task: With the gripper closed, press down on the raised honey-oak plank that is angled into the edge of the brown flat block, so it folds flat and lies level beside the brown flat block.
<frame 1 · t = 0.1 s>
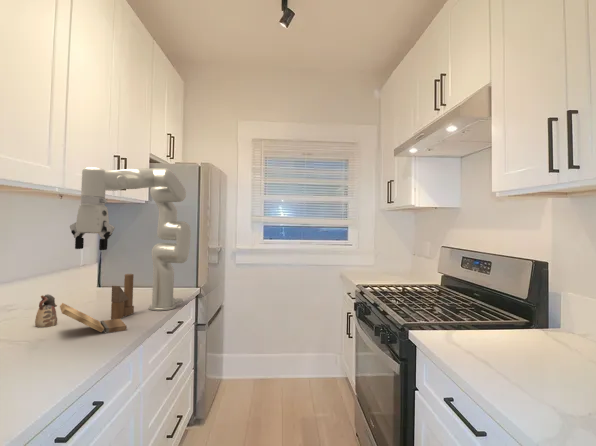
hand: (91, 249, 125), 31 cm above the countertop, tool pointing down, fingers open, 9 cm apart
figurine: (46, 325, 136), on the countertop
oak plank: (81, 317, 129), point 5 cm above the countertop, hinge at 35.0°
wooden block: (122, 316, 152), on the countertop
brown flat block: (113, 327, 135), on the countertop
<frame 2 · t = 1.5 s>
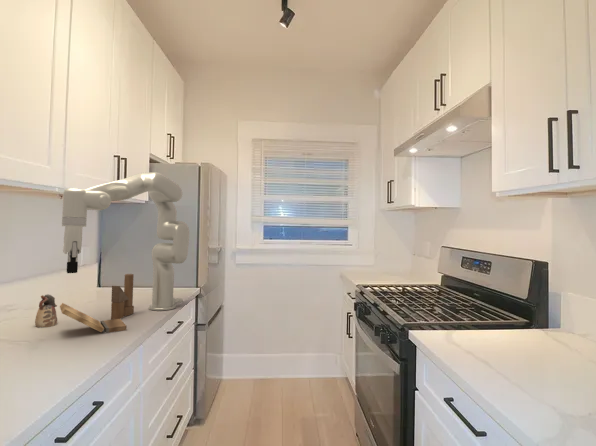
hand: (71, 272, 126), 22 cm above the countertop, tool pointing down, fingers closed
nothing on the countertop moved.
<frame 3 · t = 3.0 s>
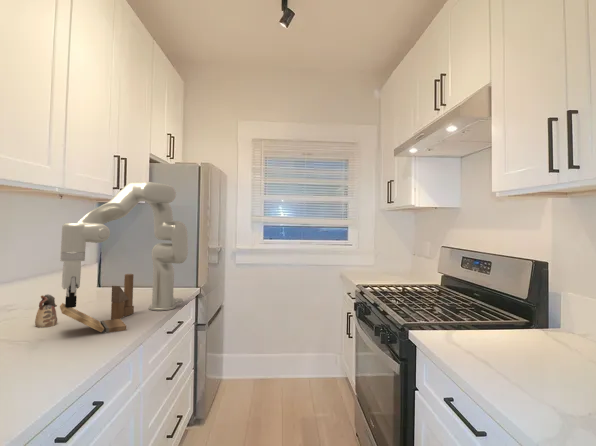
hand: (70, 307, 126), 10 cm above the countertop, tool pointing down, fingers closed
oak plank: (81, 317, 129), point 5 cm above the countertop, hinge at 34.9°, touching gripper
everything else where it was.
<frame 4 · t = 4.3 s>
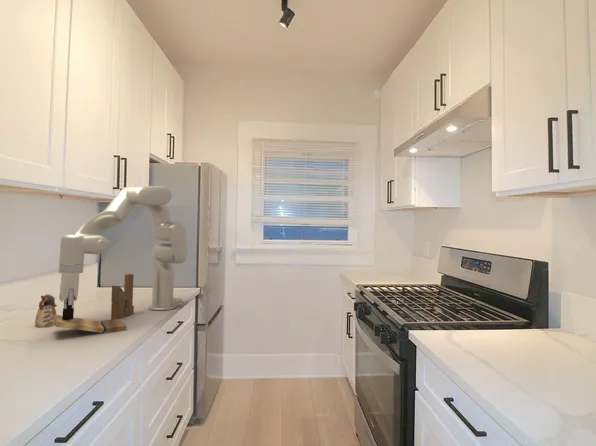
hand: (67, 319, 126), 5 cm above the countertop, tool pointing down, fingers closed
oak plank: (79, 323, 128), point 3 cm above the countertop, hinge at 17.2°, touching gripper
everything else where it was.
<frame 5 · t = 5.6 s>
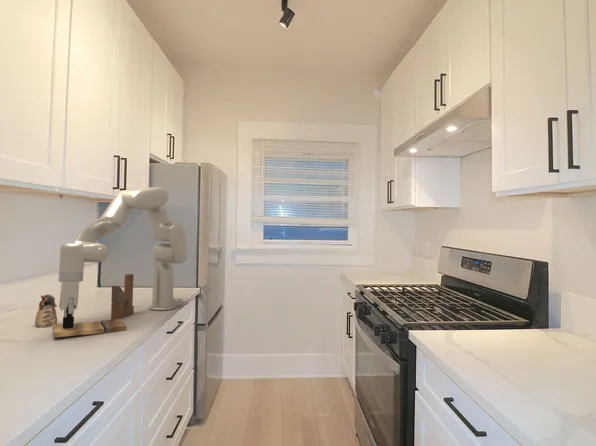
hand: (67, 327, 126), 2 cm above the countertop, tool pointing down, fingers closed
oak plank: (78, 328, 128), point 1 cm above the countertop, hinge at 3.4°, touching gripper
everything else where it was.
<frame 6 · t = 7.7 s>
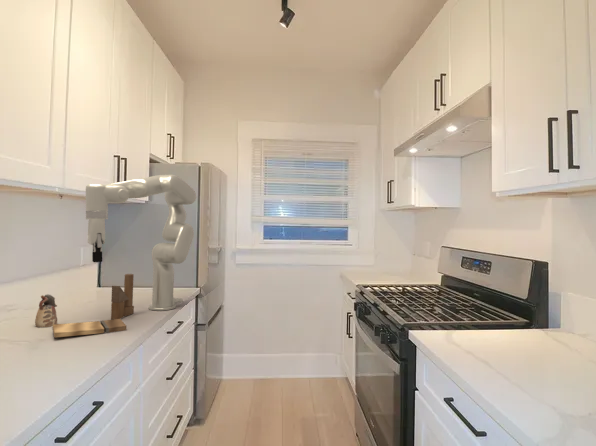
hand: (97, 261, 138), 25 cm above the countertop, tool pointing down, fingers closed
oak plank: (78, 328, 128), point 1 cm above the countertop, hinge at 3.3°
everything else where it was.
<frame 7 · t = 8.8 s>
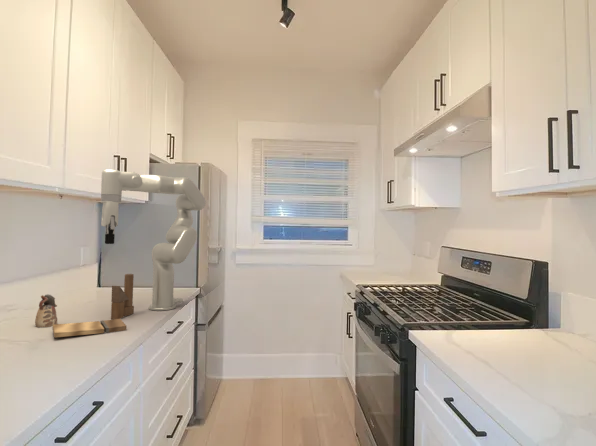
hand: (109, 243, 144), 32 cm above the countertop, tool pointing down, fingers closed
nothing on the countertop moved.
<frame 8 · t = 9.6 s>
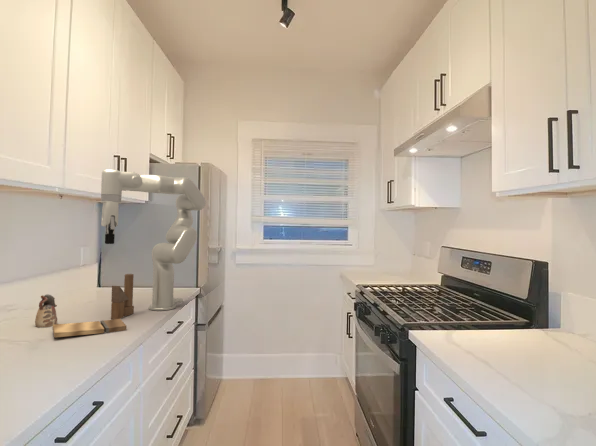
hand: (109, 243, 144), 32 cm above the countertop, tool pointing down, fingers closed
nothing on the countertop moved.
at the end: oak plank at +3° (first picture: +35°); the gripper is holding nothing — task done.
